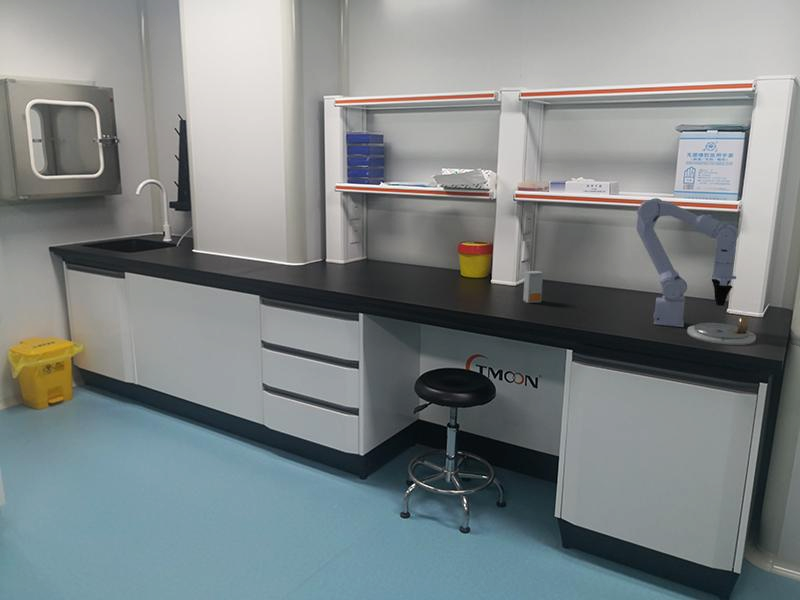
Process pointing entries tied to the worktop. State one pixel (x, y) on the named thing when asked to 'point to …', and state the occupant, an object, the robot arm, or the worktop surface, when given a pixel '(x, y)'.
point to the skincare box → (533, 286)
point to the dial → (724, 329)
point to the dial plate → (741, 341)
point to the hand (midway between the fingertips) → (719, 302)
